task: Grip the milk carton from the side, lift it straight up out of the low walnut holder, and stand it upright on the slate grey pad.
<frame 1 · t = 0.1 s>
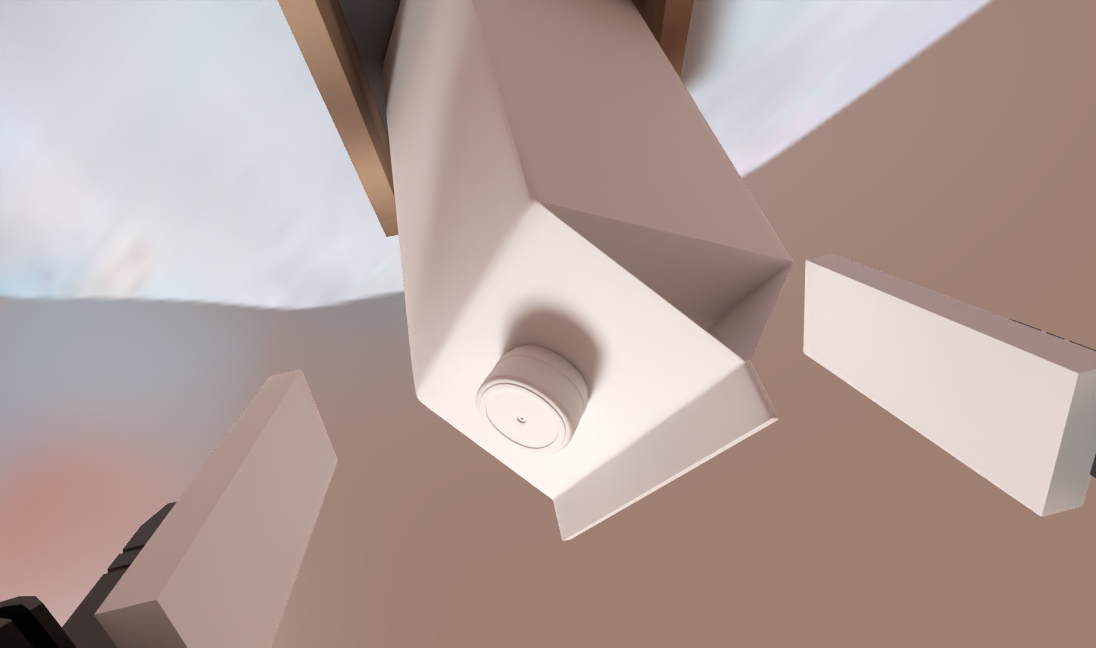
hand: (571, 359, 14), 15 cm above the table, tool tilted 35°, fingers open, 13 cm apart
milk carton: (492, 17, 21), resting in walnut holder
walnut holder: (493, 20, 21), on the table
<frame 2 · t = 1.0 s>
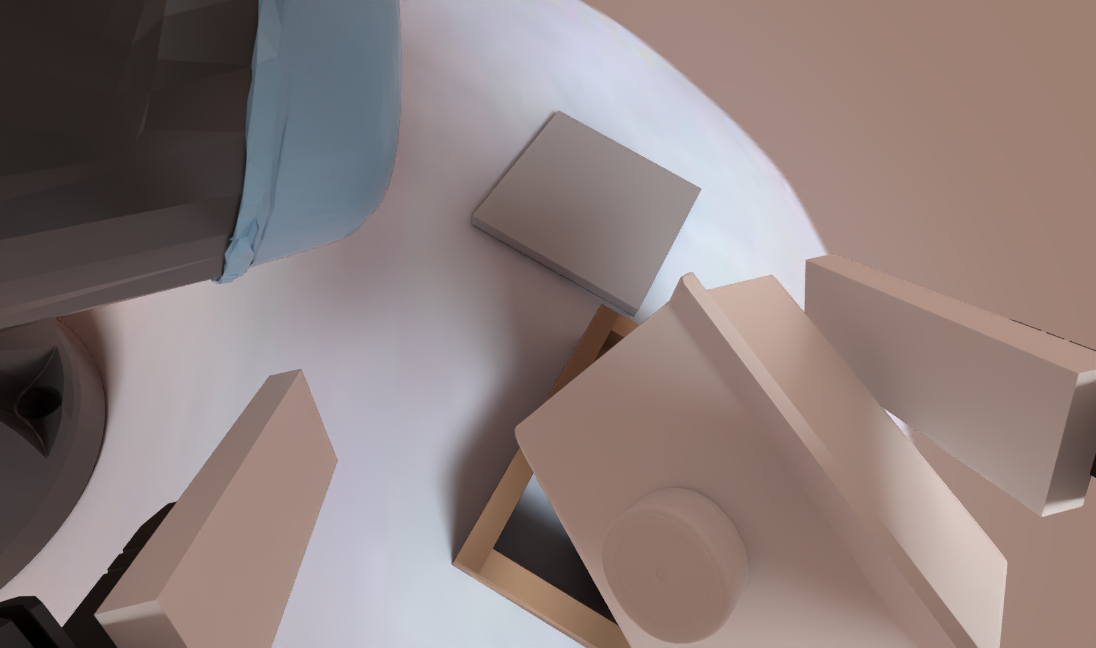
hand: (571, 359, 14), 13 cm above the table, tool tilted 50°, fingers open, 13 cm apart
slate pad: (591, 209, 33), on the table
milk carton: (644, 501, 25), point 1 cm above the table
walnut holder: (639, 506, 26), on the table
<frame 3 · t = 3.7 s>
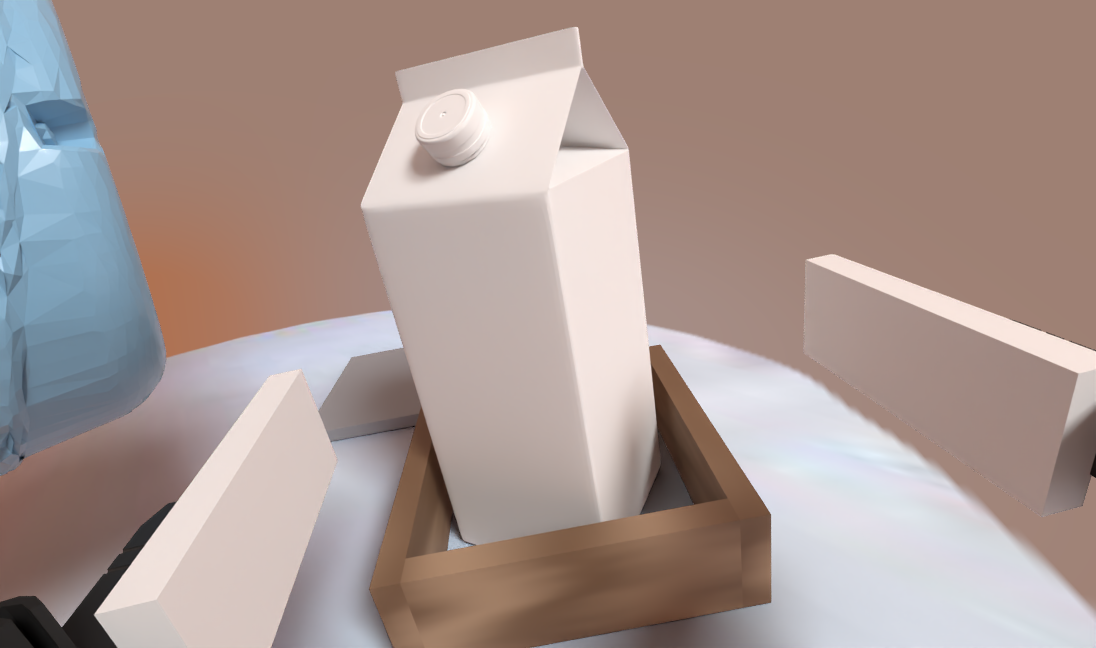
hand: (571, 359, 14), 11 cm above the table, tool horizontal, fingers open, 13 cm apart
slate pad: (409, 386, 38), on the table
milk carton: (567, 507, 24), resting in walnut holder
walnut holder: (567, 506, 24), on the table
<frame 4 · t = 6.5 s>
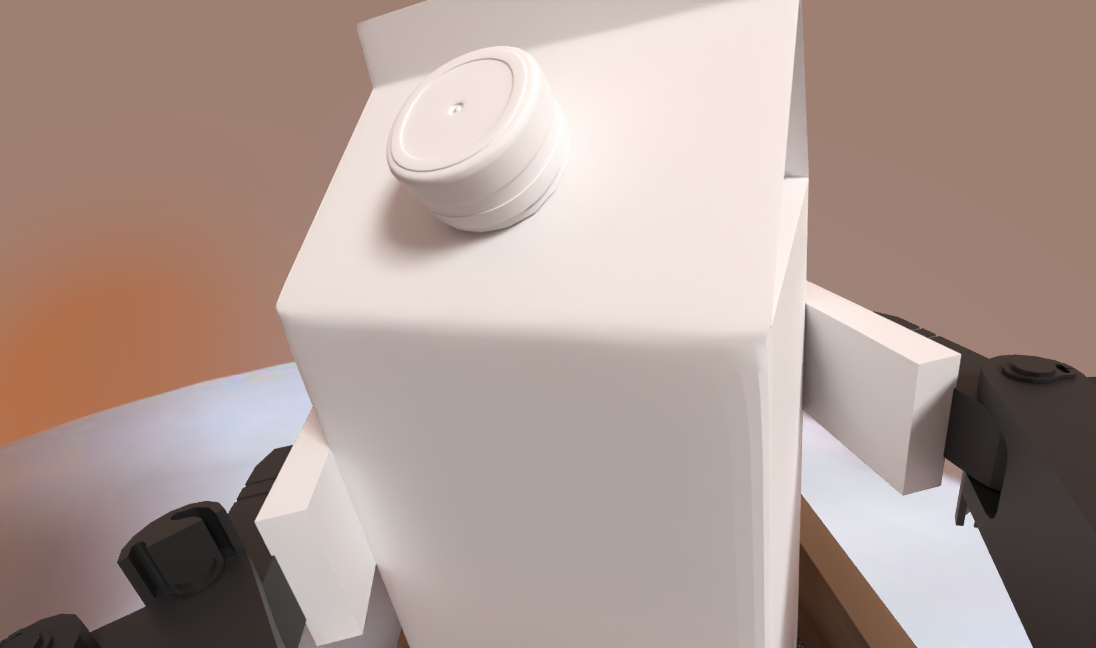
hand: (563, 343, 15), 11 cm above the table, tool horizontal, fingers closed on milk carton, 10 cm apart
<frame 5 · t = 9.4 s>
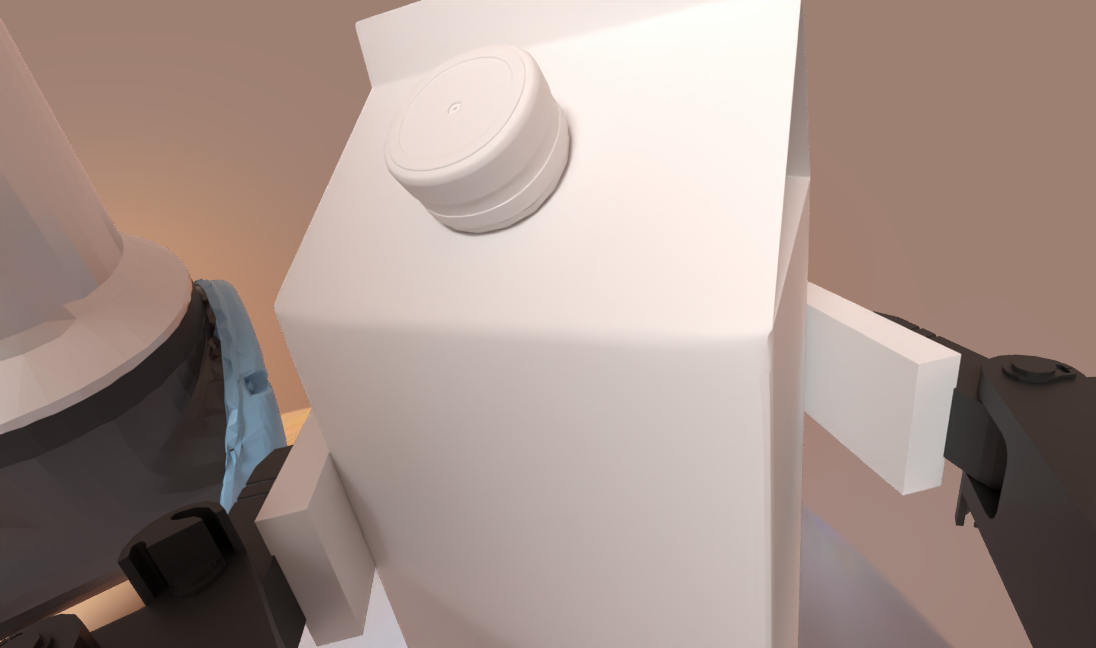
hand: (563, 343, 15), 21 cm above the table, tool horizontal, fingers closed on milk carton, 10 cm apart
when the fingers open (13 cm above the table, at t = 12.4 s): milk carton drops 1 cm, resting on slate pad.
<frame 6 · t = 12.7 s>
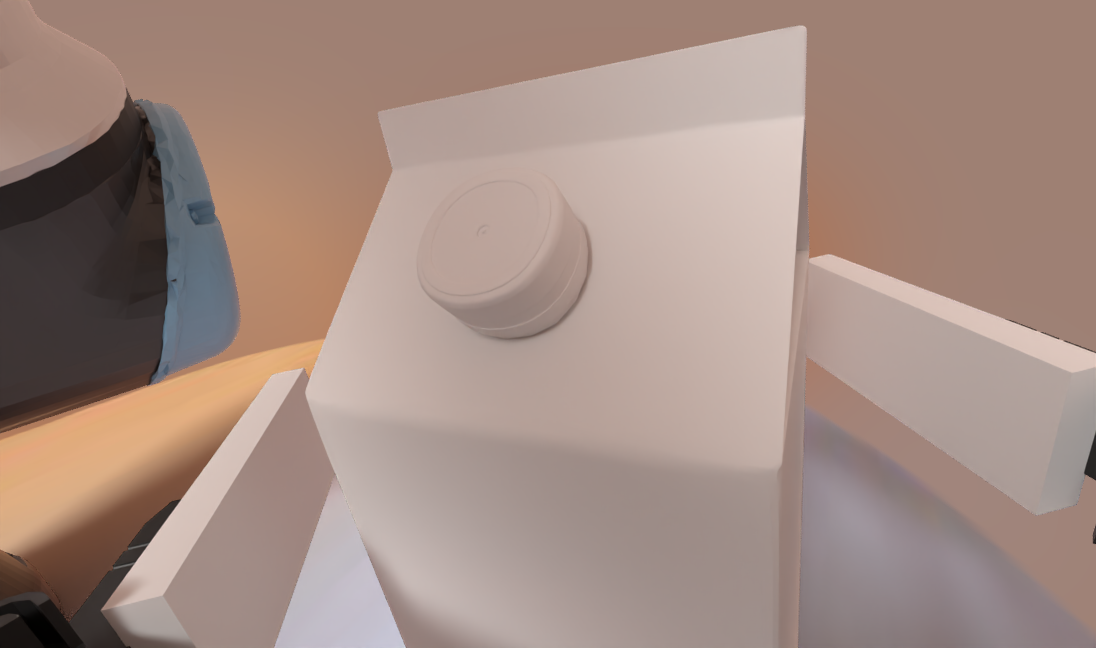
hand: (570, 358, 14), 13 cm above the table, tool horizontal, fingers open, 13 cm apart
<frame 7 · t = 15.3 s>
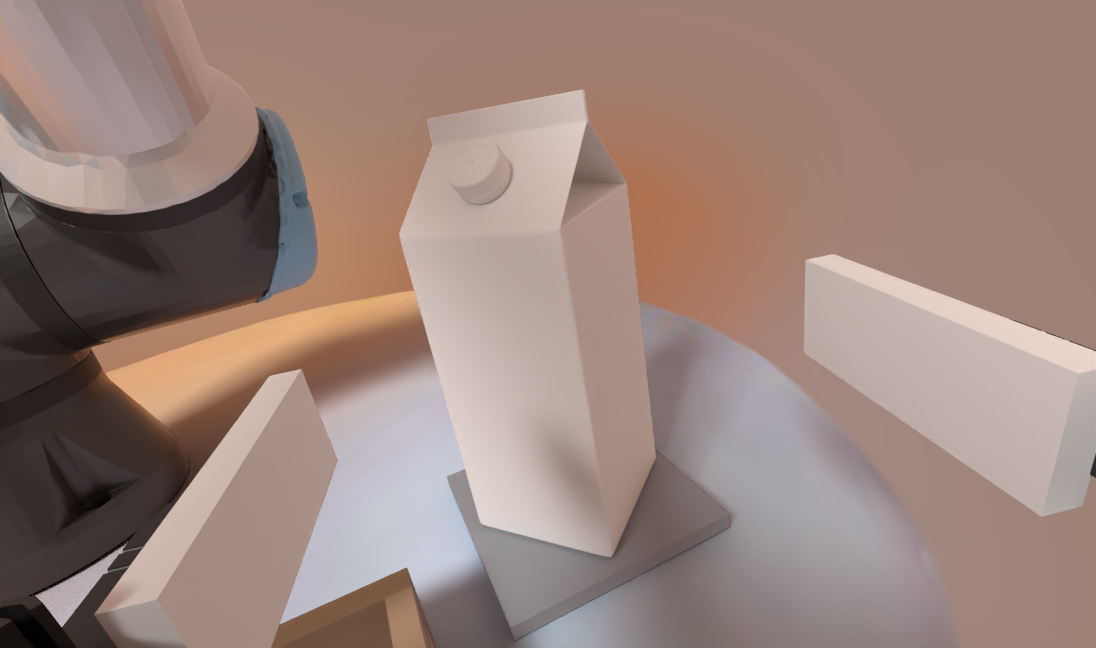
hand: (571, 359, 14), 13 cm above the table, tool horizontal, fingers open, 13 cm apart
slate pad: (574, 505, 28), on the table
milk carton: (572, 495, 28), point 1 cm above the table, touching slate pad
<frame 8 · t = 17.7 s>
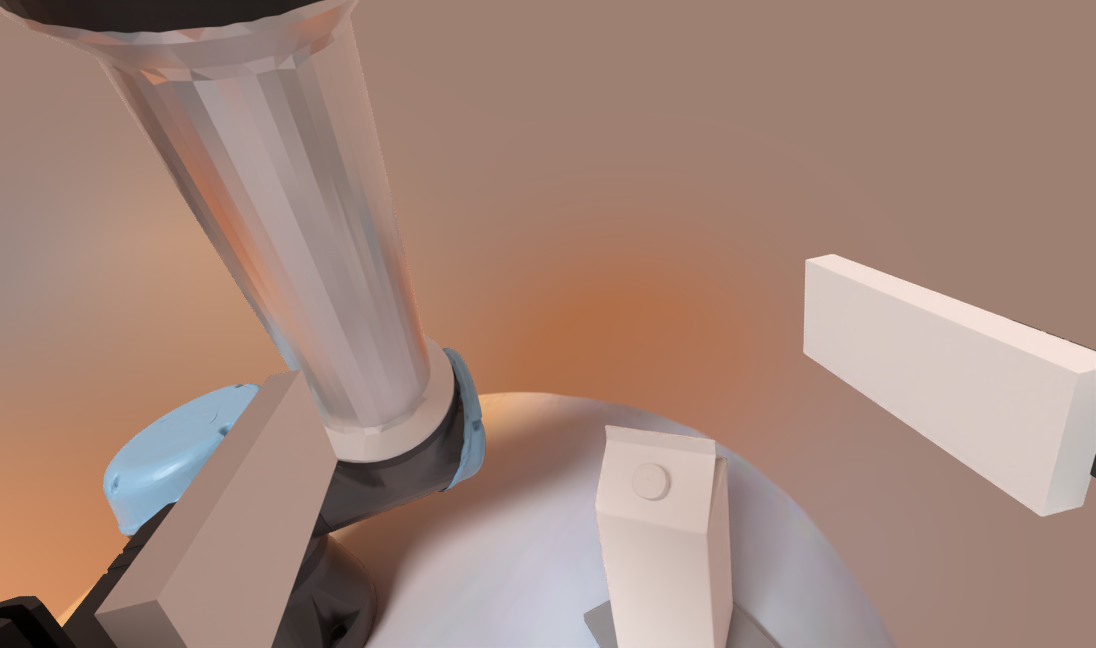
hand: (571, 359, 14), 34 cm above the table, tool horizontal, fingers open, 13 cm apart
slate pad: (679, 642, 41), on the table
milk carton: (678, 636, 41), point 1 cm above the table, touching slate pad
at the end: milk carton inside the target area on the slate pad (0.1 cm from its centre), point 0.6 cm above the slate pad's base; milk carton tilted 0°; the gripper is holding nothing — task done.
